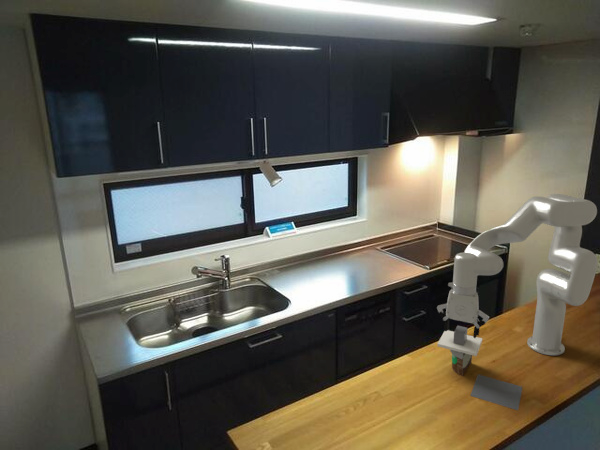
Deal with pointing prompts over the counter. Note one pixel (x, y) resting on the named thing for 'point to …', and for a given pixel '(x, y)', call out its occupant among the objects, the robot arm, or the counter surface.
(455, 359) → the food container
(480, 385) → the mat
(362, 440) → the counter surface
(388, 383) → the counter surface
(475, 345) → the lid
